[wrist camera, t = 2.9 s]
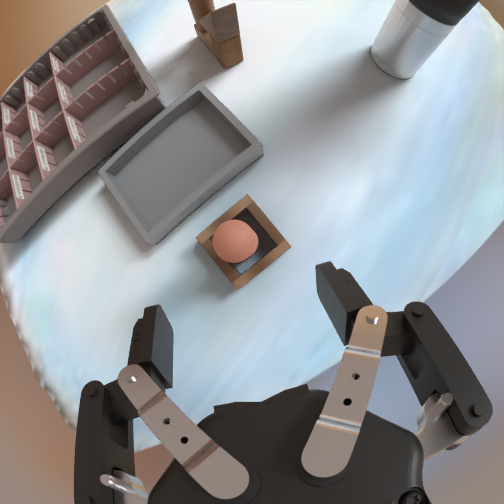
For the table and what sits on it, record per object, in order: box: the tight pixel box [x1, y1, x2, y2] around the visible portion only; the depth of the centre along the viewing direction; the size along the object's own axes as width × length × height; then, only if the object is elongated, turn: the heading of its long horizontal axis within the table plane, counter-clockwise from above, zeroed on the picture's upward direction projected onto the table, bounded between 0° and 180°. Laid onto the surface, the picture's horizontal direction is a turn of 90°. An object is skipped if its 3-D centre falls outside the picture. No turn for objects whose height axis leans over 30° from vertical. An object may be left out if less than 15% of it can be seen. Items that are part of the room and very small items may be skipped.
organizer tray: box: [0, 5, 166, 243], centre depth 36 cm, size 32×40×10 cm
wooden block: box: [188, 0, 243, 68], centre depth 30 cm, size 4×11×18 cm, turn 31°
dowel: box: [213, 220, 259, 263], centre depth 33 cm, size 4×4×13 cm
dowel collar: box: [196, 194, 291, 290], centre depth 38 cm, size 9×9×3 cm
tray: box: [98, 82, 263, 244], centre depth 37 cm, size 20×14×4 cm
